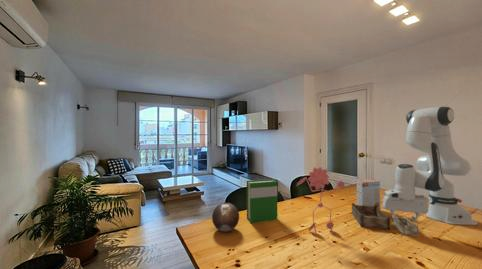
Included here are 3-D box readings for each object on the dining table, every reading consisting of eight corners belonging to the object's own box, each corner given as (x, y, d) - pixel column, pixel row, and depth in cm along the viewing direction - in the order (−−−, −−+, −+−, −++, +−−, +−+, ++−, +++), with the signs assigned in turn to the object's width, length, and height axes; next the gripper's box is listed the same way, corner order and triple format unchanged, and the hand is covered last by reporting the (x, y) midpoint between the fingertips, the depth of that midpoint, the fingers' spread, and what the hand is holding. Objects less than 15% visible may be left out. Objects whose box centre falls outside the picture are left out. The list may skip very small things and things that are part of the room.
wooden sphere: (214, 238, 107) (214, 209, 107) (210, 226, 121) (210, 200, 121) (242, 234, 111) (242, 206, 111) (235, 223, 125) (235, 198, 125)
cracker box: (373, 208, 149) (373, 179, 149) (380, 211, 143) (380, 181, 143) (356, 209, 146) (356, 180, 146) (362, 213, 140) (362, 182, 140)
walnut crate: (376, 215, 136) (376, 205, 135) (390, 229, 116) (390, 217, 116) (351, 213, 139) (351, 203, 139) (360, 226, 120) (360, 214, 119)
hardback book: (250, 223, 125) (250, 183, 125) (246, 218, 132) (246, 180, 132) (277, 219, 130) (277, 181, 130) (272, 215, 137) (272, 178, 137)
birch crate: (406, 226, 120) (406, 217, 120) (418, 236, 108) (418, 226, 108) (393, 225, 122) (393, 216, 121) (403, 234, 110) (403, 225, 110)
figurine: (349, 234, 110) (347, 168, 111) (302, 237, 107) (301, 169, 108) (333, 223, 125) (332, 164, 126) (291, 225, 123) (290, 165, 123)
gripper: (424, 194, 115) (423, 219, 115) (381, 190, 120) (381, 214, 120) (431, 197, 109) (430, 224, 109) (386, 193, 114) (385, 219, 114)
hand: (404, 219), depth 115 cm, fingers open, 8 cm apart
